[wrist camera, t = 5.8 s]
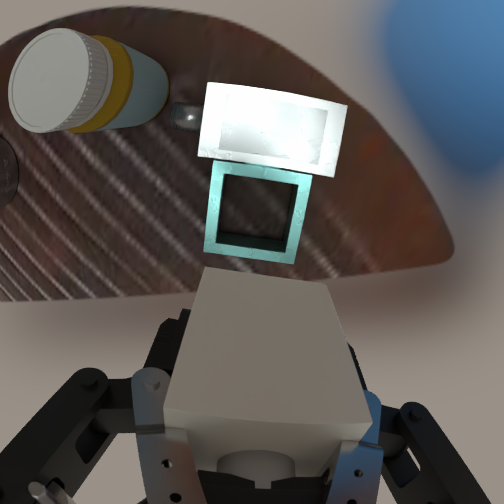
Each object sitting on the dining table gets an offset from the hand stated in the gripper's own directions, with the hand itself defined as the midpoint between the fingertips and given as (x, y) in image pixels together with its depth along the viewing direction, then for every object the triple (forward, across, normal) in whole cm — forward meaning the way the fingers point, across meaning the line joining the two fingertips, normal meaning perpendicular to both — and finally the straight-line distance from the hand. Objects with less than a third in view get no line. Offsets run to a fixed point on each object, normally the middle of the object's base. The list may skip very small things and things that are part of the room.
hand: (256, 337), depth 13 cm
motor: (+19, +2, -3) cm, 20 cm away
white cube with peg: (+1, 0, 0) cm, 1 cm away
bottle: (+19, +13, -10) cm, 26 cm away
